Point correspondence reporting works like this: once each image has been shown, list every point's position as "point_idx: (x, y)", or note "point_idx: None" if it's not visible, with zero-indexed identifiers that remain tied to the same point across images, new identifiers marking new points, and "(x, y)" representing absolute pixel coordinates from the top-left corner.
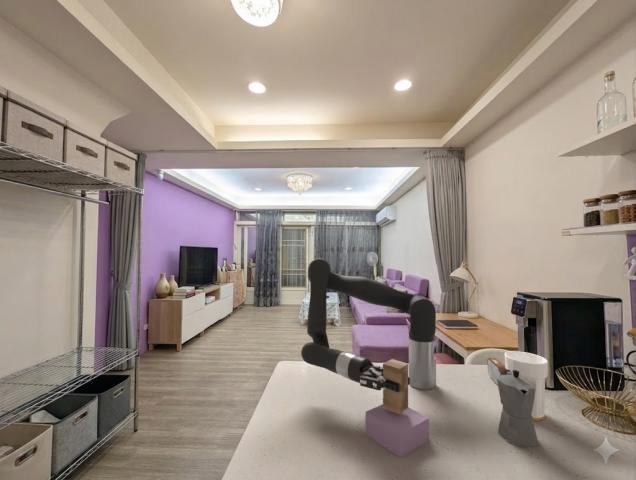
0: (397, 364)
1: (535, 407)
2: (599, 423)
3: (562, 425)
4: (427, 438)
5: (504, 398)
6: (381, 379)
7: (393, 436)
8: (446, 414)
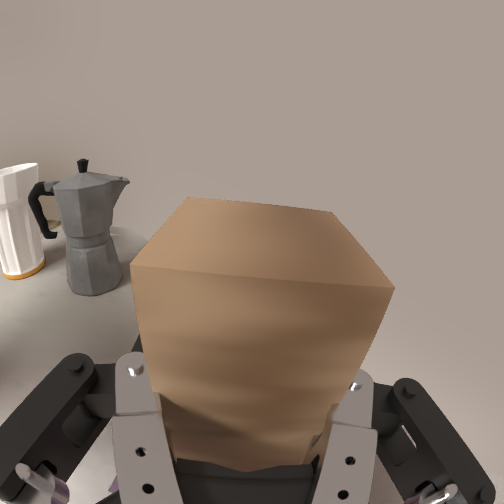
0: (270, 221)
1: (40, 241)
2: None
3: (53, 247)
4: None
5: (95, 218)
6: (371, 400)
7: None
8: (43, 368)
